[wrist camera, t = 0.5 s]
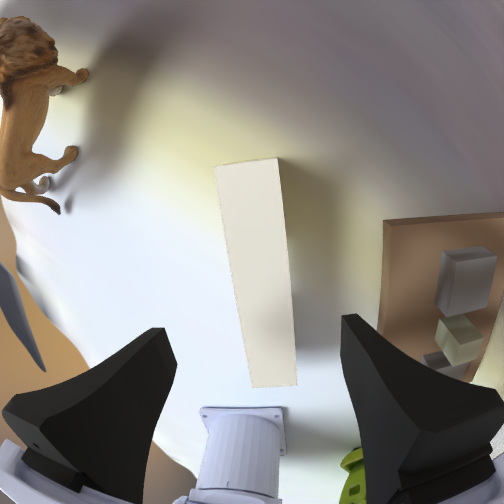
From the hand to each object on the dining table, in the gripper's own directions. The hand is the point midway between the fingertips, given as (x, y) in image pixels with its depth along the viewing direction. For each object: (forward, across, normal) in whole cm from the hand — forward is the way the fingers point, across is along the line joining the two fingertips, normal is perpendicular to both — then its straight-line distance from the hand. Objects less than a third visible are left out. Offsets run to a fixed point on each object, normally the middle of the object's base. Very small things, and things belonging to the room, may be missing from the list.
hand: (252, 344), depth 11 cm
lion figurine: (+9, +14, -14) cm, 21 cm away
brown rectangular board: (+8, -14, +6) cm, 18 cm away
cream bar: (+8, 0, 0) cm, 8 cm away
